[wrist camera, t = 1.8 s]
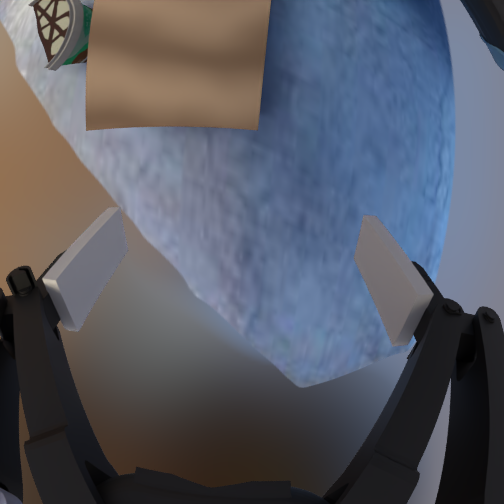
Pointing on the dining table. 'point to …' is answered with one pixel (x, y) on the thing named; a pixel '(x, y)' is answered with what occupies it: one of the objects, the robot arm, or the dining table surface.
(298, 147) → the dining table surface
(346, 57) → the dining table surface
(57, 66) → the food container
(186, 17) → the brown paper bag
